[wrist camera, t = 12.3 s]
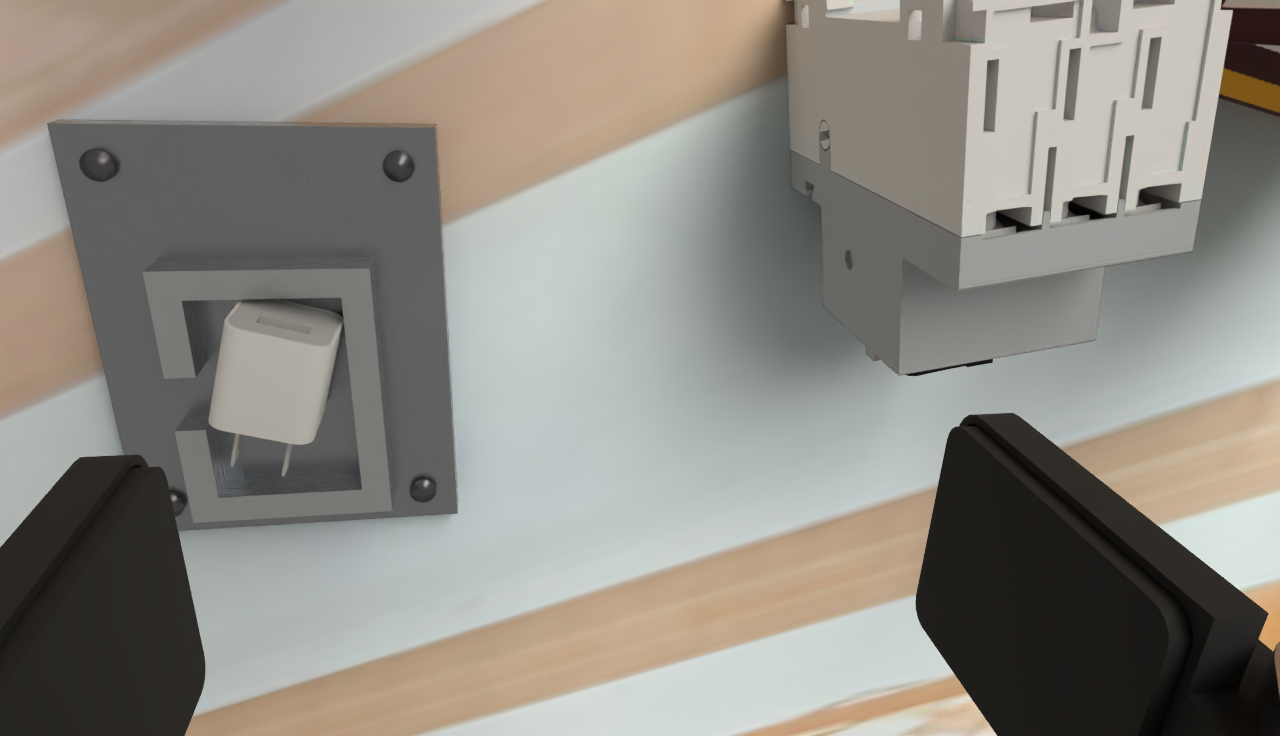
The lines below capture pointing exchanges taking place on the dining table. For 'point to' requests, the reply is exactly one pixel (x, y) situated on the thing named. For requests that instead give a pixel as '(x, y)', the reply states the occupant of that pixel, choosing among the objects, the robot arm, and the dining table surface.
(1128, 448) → the dining table surface
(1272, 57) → the decorative lantern
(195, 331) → the plate
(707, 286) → the dining table surface
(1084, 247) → the circuit breaker
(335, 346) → the usb wall charger
